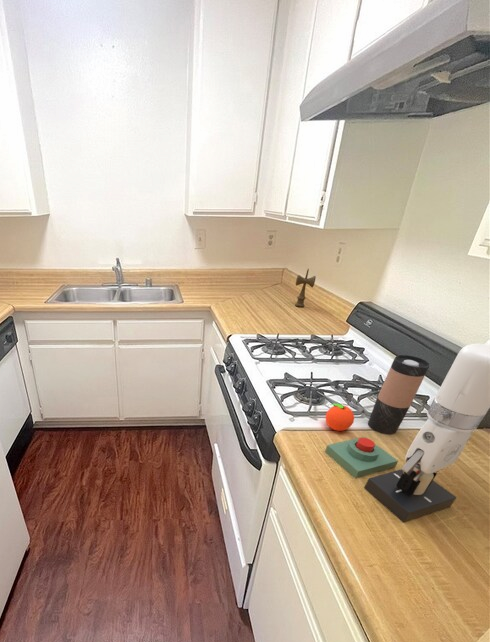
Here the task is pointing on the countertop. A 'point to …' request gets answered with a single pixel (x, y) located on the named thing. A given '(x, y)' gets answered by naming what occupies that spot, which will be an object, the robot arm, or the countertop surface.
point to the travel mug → (397, 393)
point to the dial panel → (408, 497)
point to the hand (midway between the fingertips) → (412, 486)
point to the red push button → (365, 445)
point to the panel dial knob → (423, 482)
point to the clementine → (339, 417)
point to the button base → (360, 458)
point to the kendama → (304, 281)
